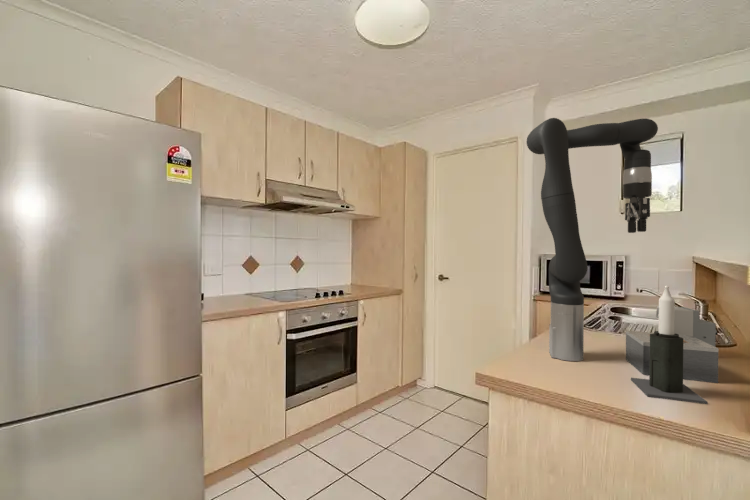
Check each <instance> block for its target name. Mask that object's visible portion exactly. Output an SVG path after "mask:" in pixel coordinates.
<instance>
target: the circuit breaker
mask: <svg viewBox="0 0 750 500" xmlns="http://www.w3.org/2000/svg"><path fill="white" fill-rule="evenodd" d="M655 319H657V320H659V305H657V306H656V311H655ZM716 326H717V325H716V323H715V322H711V321H707V320H704V319H701V318H700V310H696V309H692V308H688V307H684V306H675V313H674V334H678V335H690V336H693V337H695V338H697V339H699V340H701V341H703V342H706V343H708V344H710V345H712V346H714V347H716V336H717V335H718V331H717V327H716Z"/></svg>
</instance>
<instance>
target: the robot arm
mask: <svg viewBox="0 0 750 500" xmlns="http://www.w3.org/2000/svg"><path fill="white" fill-rule="evenodd" d="M658 131H659V127H658V124H657V123H656V121H654V120H653V119H650V118H637V119H632V120H628V121H627V120H626V121H623V122H609V123H608V122H604V123H595V124H592V125H585V126H582V127H578V128H573V129H567V127H566V125H565V123H564V122H563V121H562V120H561V119H559V118H557V117H550V118H548V119H546V120H544V121H542V123H540V124H539V125H537V126H536V127H535V128H533V129H532V130H531V131H530V132H529V134H528V135H527V137H526V147H527V148H528V150H529V151H530V152H531V153H533V154H534V155H535V154H536V155H544V161H545V165H544V166H545V168H544V175H543V179H542V183H541V189H540V190H541V191H540V200H541V205H542V212H543V216H544V219H545V221H546V223H547V226H548V229H549V231H550V233H551V236H552V238H553V243H554V251H555V254H554V256H553V257H552V258H551V259H550V261H549V264H548V291H549V295H550V323H549V325H548V326H549V329H548V330H549V331H548V333H549V336H548V337H549V339H548V340H549V341H548V344H549V345H548V347H549V349H548V350H549V351H548V353H549V354H550V356H551V358H552V359H558V360H562V361H569V362H580V361H583V360H584V347H585V346H584V345H585V343H584V337H585V336H584V330H585V329H584V328H585V326H584V323H585V322H584V320H585V319H584V316H585V315H584V313H585V308H584V307H585V297H584V294H583V292H582V289H581V281H582V280H583V279H585V277H586V276H587V273H588V262H587V258H586V255H585V252H584V251H585V250H584V248H583V244H582V240H581V235H580V228H579V220H578V212H577V204H576V198H575V193H574V187H573V180H572V174H571V166H570V158H569V149H578V148H589V147H607V146H616V145H619V146H620V149H621V154H622V156H623V177H622V198H623V199H628V200H629V202H626V203H625V207H624V210H625V212H624V221H626V222H627V233H628V234H629V233H630V234H634V233H635V234H636V233H637V232H638V233H641V232H642V233H643V232H646V231H647V220H648V218H649V217H651V198H650V197H651V196H652V193H653V192H652V191H653V186H652V185H653V183H652V182H653V181H652V180H653V178H652V177H653V175H652V173H653V172H652V155H651V154H652V153H651V151H650V150H649V149H642V148H641V144H642V143H646V142H647V141H650V140H652V139H653V138H654V137H655V136H657V134H658Z"/></svg>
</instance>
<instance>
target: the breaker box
mask: <svg viewBox="0 0 750 500" xmlns="http://www.w3.org/2000/svg"><path fill="white" fill-rule="evenodd" d="M650 334H654V332H650V331H649V332H648V331H647V332H645V331H637V330H634V331H633V330H625V360H626V361H627V362H628V363H629V364H630V365H631V366H632V367H633V368H635V369H636V370H637V371H638V372H639V373H640V374H641V375H644V376H649V374H650ZM679 337H681V338H683V380H687V381H695V382H696V381H697V382H704V383H705V382H706V383H712V384H713V383H714V384H719V347H716V346H715V347H714V346H712V345H710V344H708V343H706V342H703V341H701V340H699V339H697V338H695V337H693V336H690V335H679Z"/></svg>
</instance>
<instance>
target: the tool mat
mask: <svg viewBox="0 0 750 500" xmlns="http://www.w3.org/2000/svg"><path fill="white" fill-rule="evenodd" d="M630 381H631V382H632V383H633V384H634V385H635V386H636V387H637V388H639V390H640V391H641V392H642V393H644V395H645V396H646V397H647V398H648V397H649V398H655V399H656V398H658V399H661V400H662V399H663V400H671V401H678V402H685V403H686V402H687V403H695V404H700V405H701V404H702V405H708V400H706V399H705V398H703V397H702V396H700V395H699V394H698V393H696V392H695V391H694V390H692V389H691V388H689V387H688V386H687V385H686V384H685V383H683V392H680V393H667V392H663V391H661V390H659V389H657V388H655V387H652V386H650V385H649V379H646V378H637V377H630Z"/></svg>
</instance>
